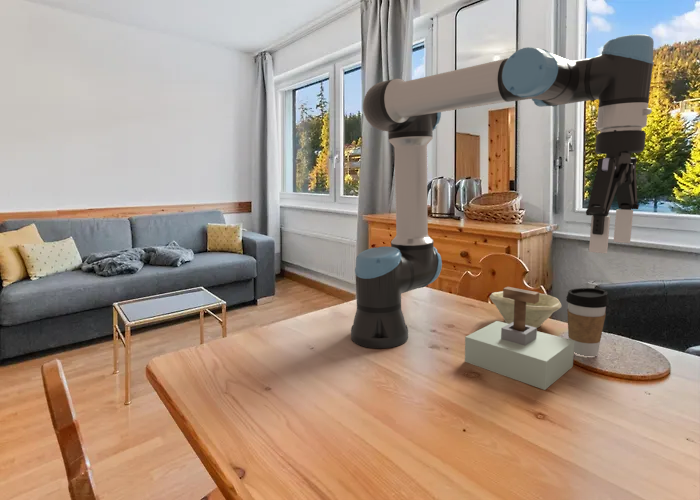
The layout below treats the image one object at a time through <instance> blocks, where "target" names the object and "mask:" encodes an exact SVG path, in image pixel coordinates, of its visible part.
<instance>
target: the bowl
mask: <svg viewBox="0 0 700 500" xmlns="http://www.w3.org/2000/svg"><path fill="white" fill-rule="evenodd" d="M489 298H490V300H491V302H492V303H493V304H494V305H495V307H496V309H497V310H498V311H499V314H500V315H501V316H502V318H503V321H504V323H507V324H510V323H512V322H514V299H509V298H504V297H503V290H502V291H495V292H492V293H491V294H490V295H489ZM561 308H562V303H561V301H560V300H559V299H558V298H557V297H555V296H553V295H550V294H545V293H540V292H539V302H537V303H535V304H533V303H528V302H526V320H525V325H528V326H532V327H536V328H537V329H538V328H540V327H541V326H542V325H543V324H544V323H545V322H546V321H547V320H548V319H549V318H551V317H552V314H553V313H555V312H557V311H558V310H559V309H561Z"/></svg>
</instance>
